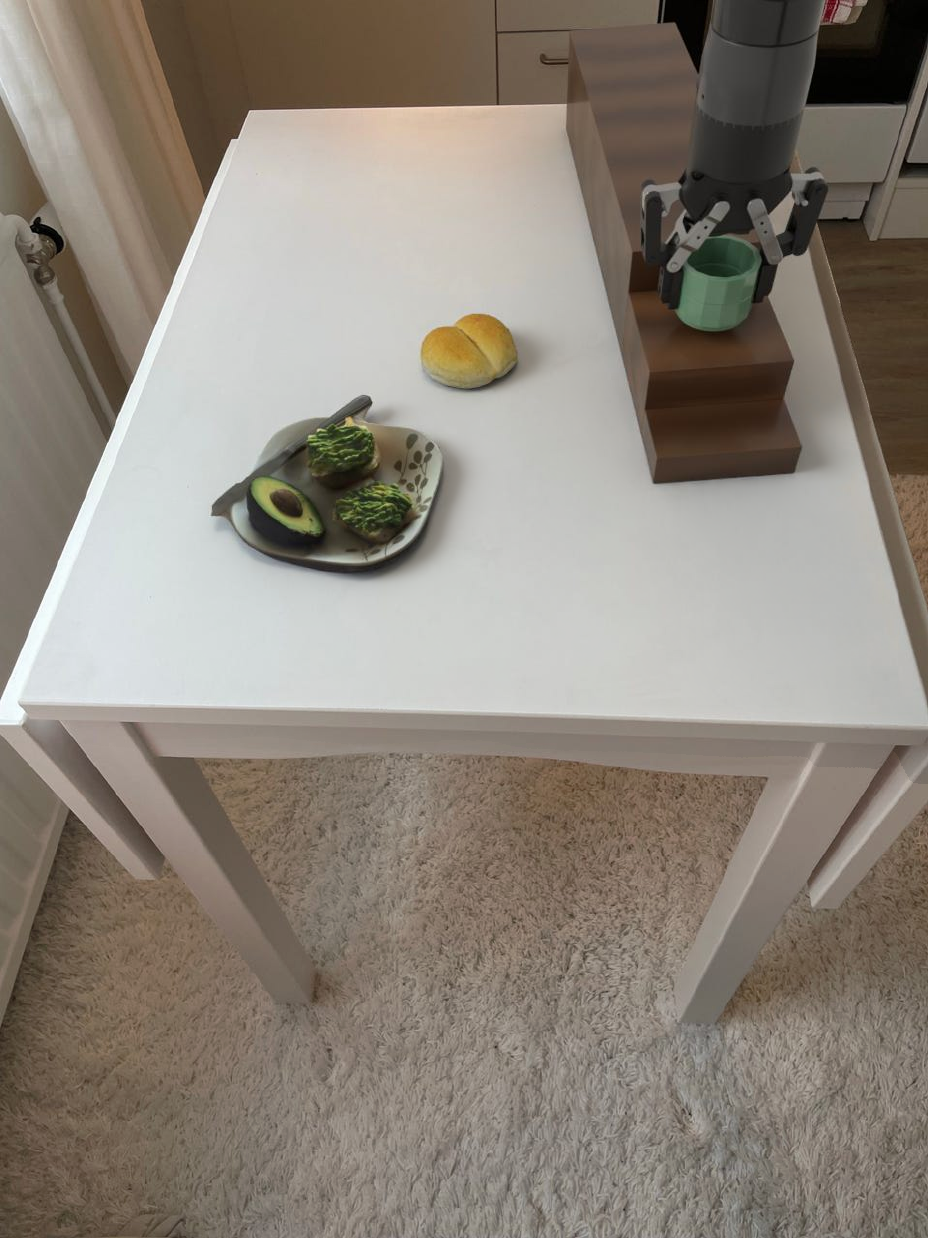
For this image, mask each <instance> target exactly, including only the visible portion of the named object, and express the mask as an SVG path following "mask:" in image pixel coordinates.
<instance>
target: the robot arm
mask: <svg viewBox="0 0 928 1238" xmlns="http://www.w3.org/2000/svg"><path fill="white" fill-rule="evenodd" d="M825 5H826V0H713V1H712V8H711V15H710V22H709V26H708V31H707V35H706V40H705V43H704V47H703V50H702V54H701V58H700V65H699V71H698V73H697V74H698V77H697V80H696V99H695V106H694V113H693V120H692V127H691V134H690V141H689V148H688V155H687V163H686V168H685V170H684V172H683V174H682V175H681V177H680V178H679V180H678V182H675V183H669V184H663V185H657V184H656V182H655V181H654V180H652V179H648V180H646V181H644V182H643V183H642V185H641V205H640V246H641V250H642V253H643V257H644V260H645V263H646V265H647V266H649V267H654V266H656V265H658V266H660V267H661V268H660V275H659V283H658V291H659V294H660V298H661V301H662V304H664V303H666V306H667V309H668V310H671V309H677V306H678V300H679V293H680V287H681V280H682V274H683V271H682V268H681V267H682V266H683V264H684V263H685V262H686V260H687V259H688V258H689V256H690V255H691V253H692V252H694V251H695V252H696V251H697V250H698V249H699V248H700V247H701V245H702V244H703V242H704V241H705V240H706V238H707V237H708V236H709V237H717V236H722V235H725V234H728V233H732V234H737V235H743V234H749V231H750V230H753V229H755V232H756V234H757V237H758V239H759V242H760V244H761V249H760V250H759V252H760V255H761V258H762V264H761V268H760V273H759V277H758V281H757V285H756V290H755V295H754V299H753V303H762V302H763V298H764V296H768V297H769V295H770V294H771V292H773V287H774V283H775V279H776V274H777V271H778V266H779V264H780V263H781V262H782V260H783V259H784V258H786V257H789V256H791V255H792V256H794V257H800V256H801V257H802V256H803V255H804V254H805V253H806V252H807V250H808V247H809V245H810V242H811V240H812V237H813V234H814V231H815V228H816V225H817V223H818V220H819V217H820V215H821V212H822V210H823V206H824V203H825V201H826V198H827V195H828V193H829V186H828V184H827V183H826V180H825V178H824V176H823V175H822V173H821V172H820V169H819V168H818V167H815V166H811V167H809V168H807V169H806V170H805V171H804V173H792V172H791V165H792V163H793V160H794V159H793V158H794V155H795V151H796V147H797V142H798V138H799V134H800V129H801V126H802V121H803V116H804V112H805V108H806V104H807V100H808V95H809V91H810V86H811V82H812V78H813V73H814V69H815V64H816V57H817V56H816V55H817V45H818V38H819V37H818V35H819V30H820V26H821V22H822V17H823V12H824V9H825ZM790 193H791V198H792V200H793V205H792V208H791V211H790V215H789V217H788V220H787V223H786V226H785V228H784V231H783V232H781V233H779V234H776V232H775V229H774V227H773V225H772V221H771V219H770V216H769V215H771V213H773V211H774V210H775V209H776V208H777V207H778V206H779V205H780V204H782V202H783V201H784V200H785V198H787V196H788V195H789V194H790ZM677 200H680V201H681V203H682V205H683V206H684V208H685V209H684V211H683V212H682V214H681V215H680V217H679V218H678V220H677V221H676V224H675V229H674V230H673V232H672V233H671V235H670V236H669V238H668V239H667V240H666V242H665V243H662V242H661V224H662V217H666V216H667V214H668V213H669V211H670V209H671V205H672V204H673V203H674V202H675V201H677ZM695 224H696V225H695Z"/></svg>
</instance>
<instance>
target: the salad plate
mask: <svg viewBox="0 0 928 1238" xmlns="http://www.w3.org/2000/svg"><path fill="white" fill-rule="evenodd" d="M372 406H373V401H372V397H371V396H370V395H367V394H361V395H359V396H357V397H355V398H354V399H352V400H351V401H350V402H348V403H346V404H345V405H344V406H343V407H341V408H340V409H339V410H337V411H336V412H335V413H333V414H332V415H331V416H324V417H323V416H320V417H319V416H318V417H310V418H309V417H308V418H305V419H302V420H299V421H297V422H293V423H291V424H289V425H286V426H284V427H281V428H280V429H279V430H277V431H276V432H275V433H273V434H272V436H271V437H270V438H269V440H268V441H267V442H266V443H265V445H264V446H263V448H262V449H261V451H260V454H259V455H258V457H257V459H256V461H255V463H254V464H253V466H252V468H251V470H250V473H249V475H248V476H246V477H245V478H244V479H243V480H242V481H240V482H236V483H235V484H233V485H232V486H231V487H230V488H229V489H227V490H226V491H225V492H224V493H222V494H221V495H220V496H219V497H218V498H217V499H216V500H215V501H214V502H213V503H212V505H211V513H210V517H222V518H224V519H226V520H227V521H228V522H229V523H230V524H231V526H232V527H233V529H234V531H235V533H237V535H238V537H239V538H240V539H241V540H242V541H243V542H244V543H245V544H246V545H247V546H248V547H250V548H252V549H254V550H255V551H257V552H258V553H261V554H263V555H264V556H267V557H268V558H271V559H272V560H276V561H279V562H283V563H288V564H291V565H293V566H294V565H295V566H298V567H302V568H307V569H311V570H316V571H320V572H327V573H328V572H329V573H339V574H340V573H344V574H345V573H358V572H365V571H370V570H374V569H378V568H381V567H383V566H385V565H388V564H389V563H392V562H393V561H395V560H397V559H398V558H400V557H401V556H403V555H404V554H406V553H407V552H408V551H409V550H411V549H412V548H413V546H414V545H415V544H416V543H417V541H418V540H419V539H420V538H421V536H422V535H423V533H424V531H425V530H426V528H427V525H428V524H429V517H430V512H431V509H432V505H433V502H434V500H435V497H436V494H437V492H438V488H439V484H440V480H441V477H442V472H443V468H444V463H445V462H444V457H443V454H442V451H441V449H440V447H439V446H438V444H437V443H436V442H435V441H434V440H432V438H431V437H430V436H428V434H426V433H425V432H423V431H421V430H418V429H415V428H410V427H407V426H406V427H405V426H397V425H389V424H379V423H373V422H369V421H367V420H366V416H367V414H368V412H369V410H370V409H371V407H372Z"/></svg>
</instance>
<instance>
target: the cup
mask: <svg viewBox="0 0 928 1238" xmlns="http://www.w3.org/2000/svg"><path fill="white" fill-rule="evenodd" d="M761 264H762V258H761V255H760V252H759V250H758V249H757V248H756V247H754V246H753V245H752V244H751V243H749V242H748V241H746V240H743V239H740V238H737V237H734V236H731V235H722V236H717V237H709V236H708V237H707V238H706V240H705V241H704V242H703V244H702V245H701V247H700V248H699V249H698V250H697V251H696V252H695V251H694V252H692V253H691V255H690V256H689V258H688V259H687V260H686V262H685V263H684V264H683V266H682V267H681V268H682V271H683V274H682V280H681V287H680V293H679V300H678V306H677V309H674V310H675V313H676V314H677V315H678V317H679V318H680V319H681V320H682V321H683V322H684V323H685V324H687V325H689V326H691V327H693V328H696V329H699V330H704V331H724V330H728V329H731V328H733V327H735V326H737V325H739V324H740V323H741V322H742V321H743V320H744V319H746V318H747V317H748V314H749V312H750V310H751V308H752V303H753V299H754V295H755V290H756V285H757V281H758V277H759V273H760V268H761Z"/></svg>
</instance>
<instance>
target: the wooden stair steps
mask: <svg viewBox="0 0 928 1238" xmlns="http://www.w3.org/2000/svg"><path fill="white" fill-rule="evenodd" d="M568 33H569V38H568V61H567V62H568V63H567V64H568V65H567V89H566V92H567V93H566V118H565V128H566V133H567V138H568V142H569V145H570V146H569V147H570V151H571V154H572V158H573V162H574V166H575V170H576V174H577V179H578V182H579V187H580V190H581V195H582V199H583V202H584V207H585V211H586V216H587V219H588V223H589V228H590V231H591V236H592V240H593V244H594V248H595V253H596V256H597V257H596V258H597V260H598V265H599V268H600V273H601V277H602V281H603V285H604V288H605V289H604V290H605V293H606V297H607V302H608V305H609V309H610V313H611V318H612V322H613V326H614V330H615V334H616V338H617V343H618V346H619V351H620V354H621V358H622V363H623V367H624V370H625V374H626V379H627V384H628V387H629V391H630V395H631V399H632V403H633V408H634V411H635V416H636V419H637V424H638V428H639V432H640V436H641V440H642V443H643V448H644V452H645V456H646V460H647V464H648V469H649V472H650V473H649V474H650V476H651V480H652V484H662V483H663V484H665V483H677V482H690V481H692V482H693V481H703V480H704V481H705V480H716V479H730V478H743V477H757V476H769V475H782V474H794V473H795V471H796V468H797V466H798V462H799V459H800V456H801V453H802V449H803V445H802V442H801V440H800V437H799V435H798V432H797V429H796V427H795V424H794V421H793V419H792V417H791V414H790V411H789V408H788V406H787V403H786V401H785V395H786V393H787V389H788V385H789V382H790V379H791V374H792V371H793V367H794V364H795V358H794V356H793V354H792V351H791V349H790V346H789V344H788V341H787V339H786V337H785V334H784V331H783V329H782V327H781V325H780V323H779V322H780V321H779V319H778V317H777V315H776V311H775V310H774V307H773V305H772V302H771V300H770V298H769V295H768V296H764V298H763V302H762V303H752V308H751V310H750V312H749V314H748V317H747V318H746V319H744V320H743V321H742V322H741V323H740V324H739V325H737V326H735V327H733V328H731V329H728V330H724V331H704V330H699V329H696V328H693V327H691V326H689V325H687V324H685V323H684V322H683V321H682V320H681V319H680V318H679V317H678V315H677V314H676V313H675V310H674V309H671V310H668V309H667V306H666V303H664V304H662V301H661V298H660V294H659V291H658V283H659V275H660V268H661V267H660V266H658V265H656V266H654V267H649V266H647V265H646V263H645V260H644V257H643V253H642V250H641V246H640V205H641V185H642V183H643V182H644V181H646V180H648V179H652V180H654V181H655V182H656V184H657V185H663V184H669V183H675V182H678V180H679V178H680V177H681V175H682V174H683V172H684V170H685V168H686V163H687V155H688V148H689V141H690V134H691V127H692V120H693V113H694V106H695V99H696V80H697V77H698V74H699V73H698V71H697V69H696V66H695V65H694V63H693V60H692V58H691V55H690V53H689V51H688V49H687V46H686V44H685V42H684V40H683V37H682V35H681V32H680V30H679V29H678V26H677V24H676V22H674V21H673V22H661V23H649V24H637V25H625V26H624V25H623V26H612V27H610V26H609V27H598V28H586V29H585V28H584V29H573V30H571V29H570V30H569V32H568ZM684 209H685V208H684V206H683V205H682V203H681V201H680V200H677V201H675V202H674V203H673V204H672V205H671V209H670V211H669V213H668V214H667V216H666V217H662V224H661V242H662V243H665V242H666V240H667V239H668V238H669V236H670V235H671V233H672V232H673V230H674V229H675V224H676V221H677V220H678V218H679V217H680V215H681V214H682V212H683V211H684ZM695 225H696V224H695ZM725 235H731V236H734V237H737V238H740V239H743V240H746V241H748V242H749V243H751V244H752V245H753V246H754V247H756V248H757V249H758V250H760V249H761V244H760V242H759V239H758V237H757V234H756V232H755V229H753V230H750V231H749V234H743V235H737V234H732V233H728V234H725Z"/></svg>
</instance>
